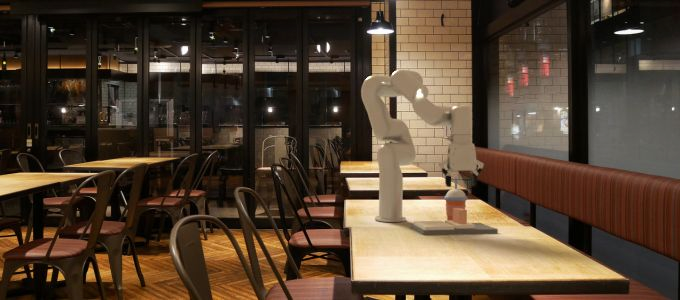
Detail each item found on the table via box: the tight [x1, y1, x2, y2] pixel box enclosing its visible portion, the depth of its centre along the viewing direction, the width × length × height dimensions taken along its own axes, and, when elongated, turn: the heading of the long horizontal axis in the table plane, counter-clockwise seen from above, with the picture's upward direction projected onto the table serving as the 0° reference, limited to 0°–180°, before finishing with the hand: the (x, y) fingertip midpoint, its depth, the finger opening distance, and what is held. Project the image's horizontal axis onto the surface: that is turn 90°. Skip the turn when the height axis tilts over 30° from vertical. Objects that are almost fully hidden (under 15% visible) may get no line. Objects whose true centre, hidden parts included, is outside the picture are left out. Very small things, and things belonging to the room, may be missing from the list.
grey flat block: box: [409, 220, 499, 236], centre depth 223 cm, size 15×28×3 cm, turn 101°
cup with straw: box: [443, 177, 468, 220], centre depth 242 cm, size 9×9×18 cm
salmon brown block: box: [444, 208, 475, 229], centre depth 223 cm, size 12×7×6 cm, turn 11°
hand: (461, 186), depth 222 cm, fingers open, 9 cm apart
